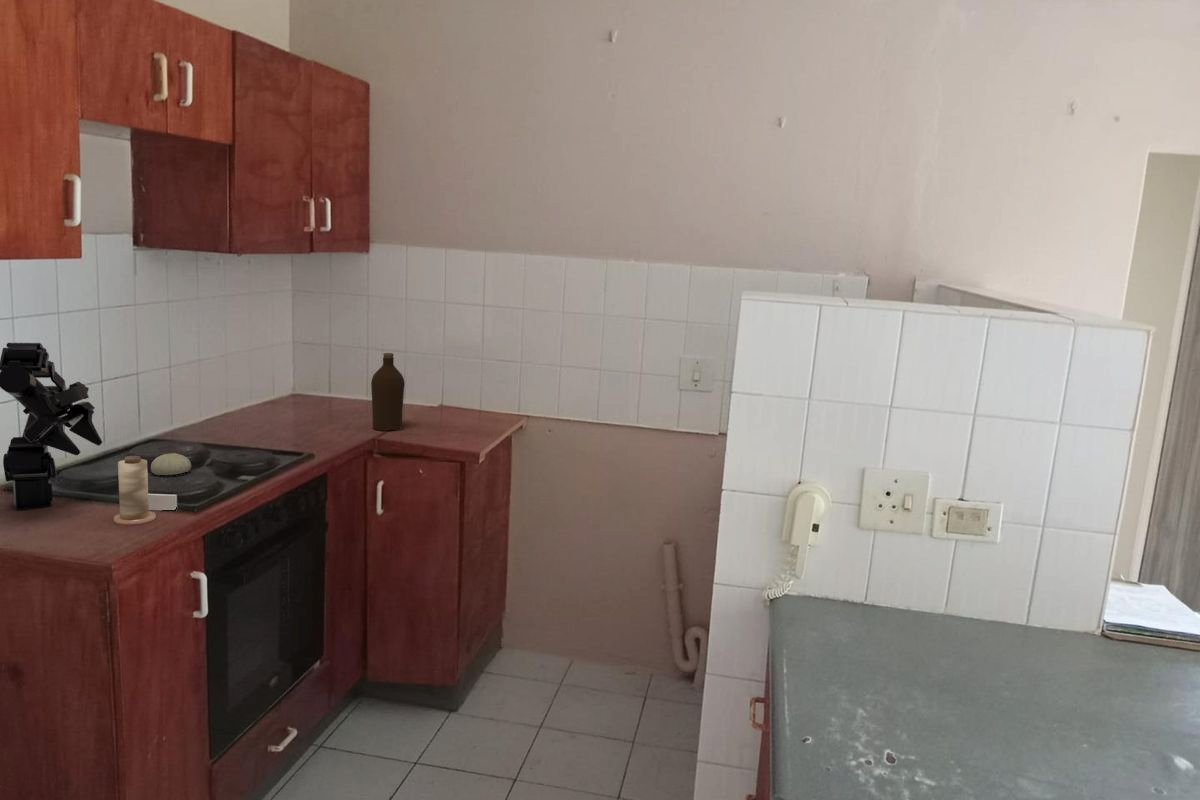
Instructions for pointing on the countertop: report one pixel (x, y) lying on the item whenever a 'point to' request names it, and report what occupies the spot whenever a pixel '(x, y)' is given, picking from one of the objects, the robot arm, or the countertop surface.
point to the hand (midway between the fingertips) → (90, 448)
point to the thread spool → (133, 488)
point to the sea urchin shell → (170, 464)
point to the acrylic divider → (162, 502)
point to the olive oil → (387, 396)
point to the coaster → (133, 522)
